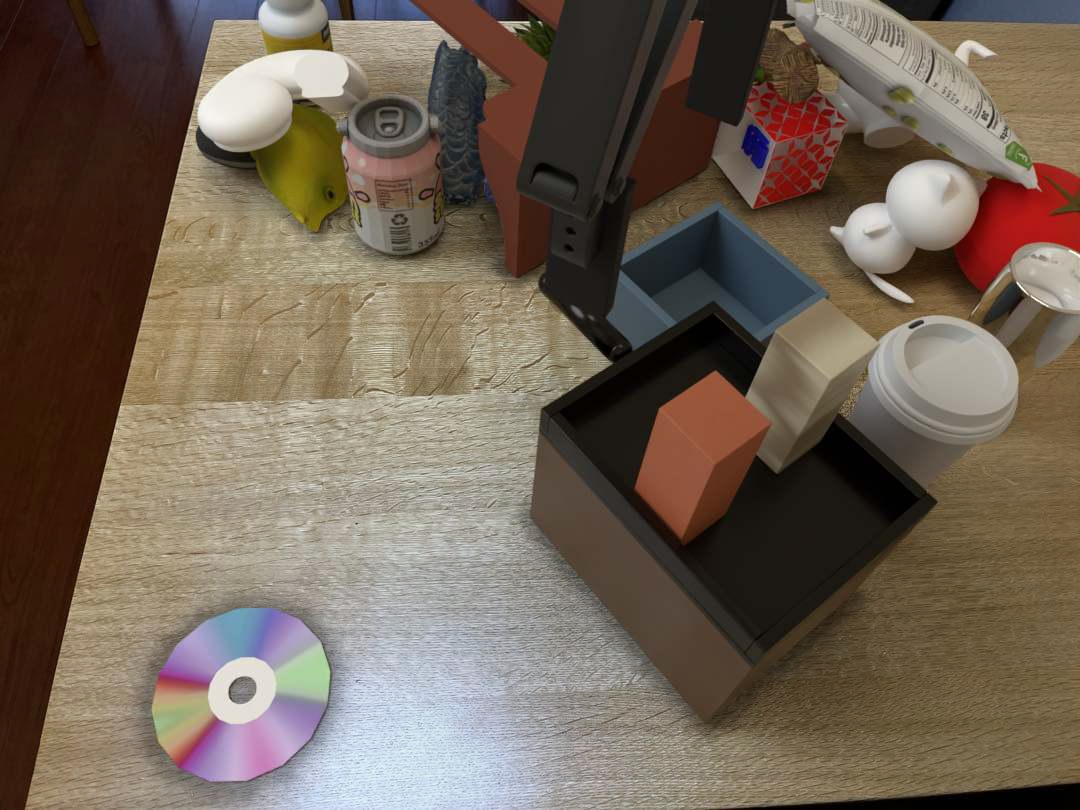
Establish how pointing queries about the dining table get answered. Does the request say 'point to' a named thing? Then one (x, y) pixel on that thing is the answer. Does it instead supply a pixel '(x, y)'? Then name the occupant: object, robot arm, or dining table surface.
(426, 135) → the beverage can
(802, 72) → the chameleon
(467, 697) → the dining table surface
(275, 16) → the pill bottle
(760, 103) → the red white patterned box
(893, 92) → the frozen beans
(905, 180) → the cat figurine
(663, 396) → the pan
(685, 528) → the terracotta block
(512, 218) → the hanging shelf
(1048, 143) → the dining table surface
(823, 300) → the cream block
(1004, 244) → the tomato
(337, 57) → the sculpture
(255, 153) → the fish
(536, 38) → the potted plant
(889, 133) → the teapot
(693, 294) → the bin
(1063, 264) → the metal tumbler
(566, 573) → the dining table surface
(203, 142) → the computer mouse
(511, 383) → the dining table surface
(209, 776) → the cd
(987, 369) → the coffee cup
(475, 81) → the fish model
